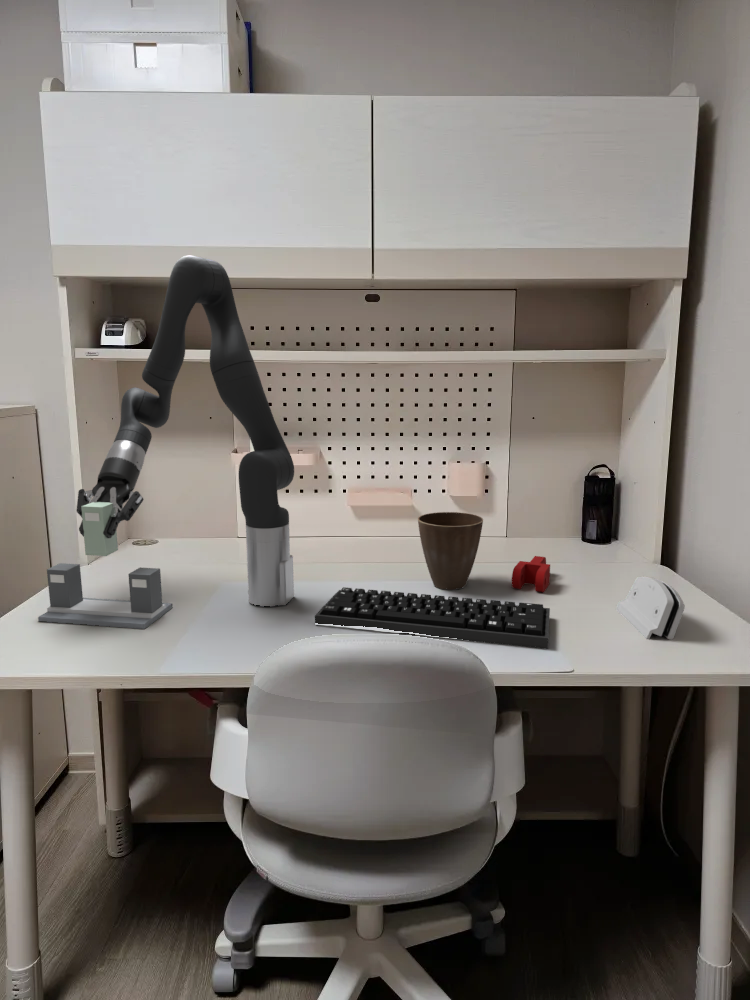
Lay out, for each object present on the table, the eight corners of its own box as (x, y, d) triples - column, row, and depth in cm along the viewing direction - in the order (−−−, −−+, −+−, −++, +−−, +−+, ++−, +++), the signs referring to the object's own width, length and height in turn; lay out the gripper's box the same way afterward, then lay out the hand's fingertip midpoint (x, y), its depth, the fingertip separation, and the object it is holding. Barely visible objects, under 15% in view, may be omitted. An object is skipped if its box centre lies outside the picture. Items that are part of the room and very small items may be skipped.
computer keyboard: (314, 628, 137) (314, 609, 136) (339, 601, 152) (339, 584, 151) (547, 652, 125) (548, 632, 125) (549, 620, 140) (550, 602, 140)
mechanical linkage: (542, 595, 154) (543, 573, 153) (511, 591, 157) (512, 570, 156) (555, 575, 169) (556, 555, 168) (526, 571, 171) (527, 552, 170)
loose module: (118, 550, 141) (114, 502, 139) (105, 556, 137) (101, 507, 135) (98, 549, 142) (94, 501, 140) (84, 555, 138) (80, 506, 136)
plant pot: (406, 589, 157) (407, 521, 154) (430, 572, 171) (431, 509, 167) (469, 599, 151) (471, 528, 148) (489, 580, 164) (491, 515, 161)
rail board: (172, 607, 146) (169, 563, 144) (144, 628, 135) (141, 581, 133) (73, 601, 150) (69, 558, 148) (38, 621, 138) (33, 575, 136)
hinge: (614, 608, 146) (633, 565, 144) (635, 615, 146) (654, 572, 144) (647, 639, 129) (669, 592, 127) (669, 647, 130) (692, 600, 128)
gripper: (83, 454, 144) (53, 524, 135) (146, 456, 142) (120, 527, 133) (99, 475, 150) (71, 543, 141) (160, 477, 148) (136, 546, 139)
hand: (95, 535), depth 137 cm, fingers closed on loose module, 4 cm apart
